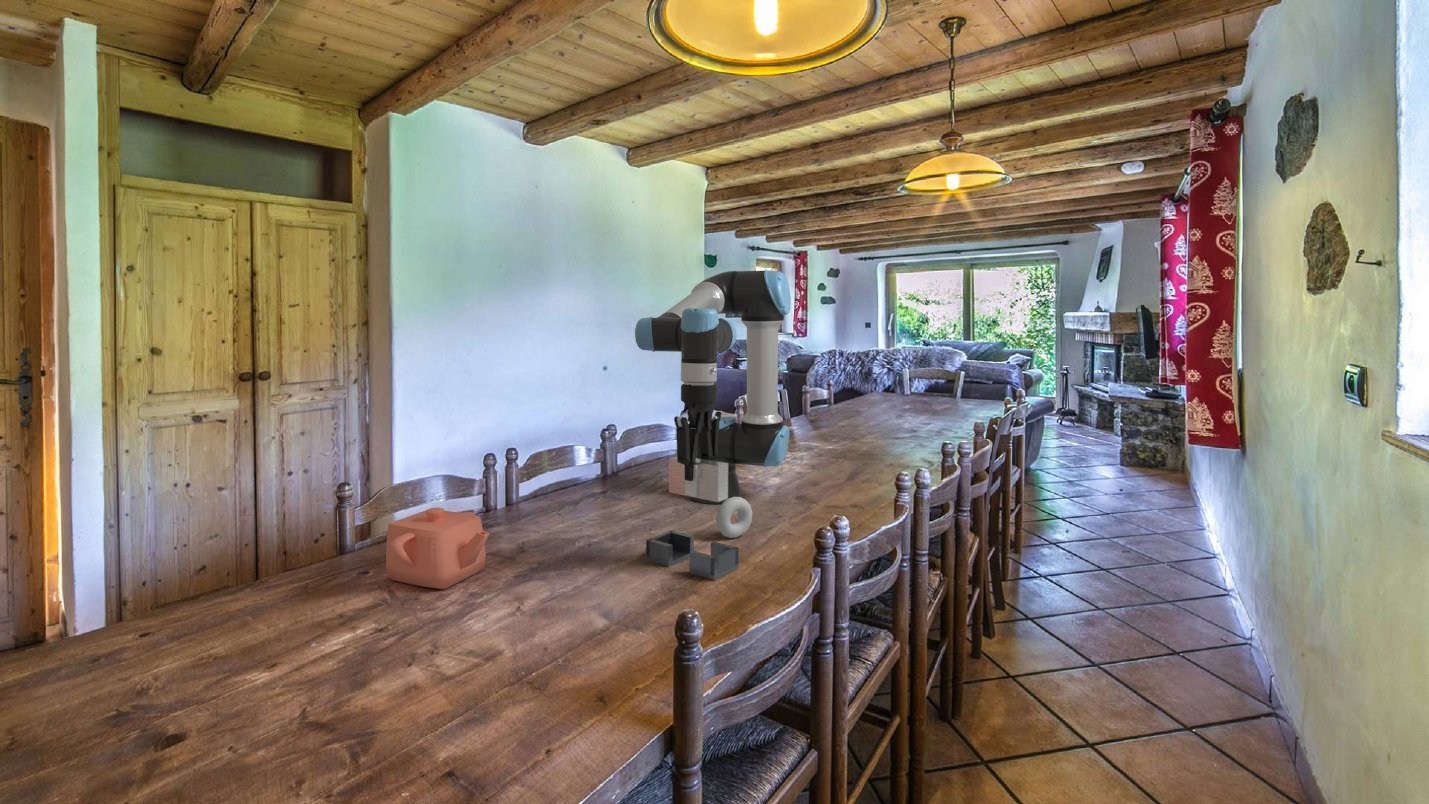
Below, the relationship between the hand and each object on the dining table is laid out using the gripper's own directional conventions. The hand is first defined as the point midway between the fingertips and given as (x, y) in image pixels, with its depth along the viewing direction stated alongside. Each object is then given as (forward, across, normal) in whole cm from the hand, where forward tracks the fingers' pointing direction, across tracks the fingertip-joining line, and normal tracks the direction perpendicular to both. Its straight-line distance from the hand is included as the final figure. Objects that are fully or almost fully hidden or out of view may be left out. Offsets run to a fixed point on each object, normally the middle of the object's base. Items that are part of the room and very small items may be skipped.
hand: (697, 493), depth 144 cm
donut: (+15, +19, +3) cm, 24 cm away
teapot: (+16, -37, +35) cm, 53 cm away
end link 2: (+15, -2, -6) cm, 16 cm away
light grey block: (0, 0, 0) cm, 1 cm away
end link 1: (+15, -1, +6) cm, 17 cm away
